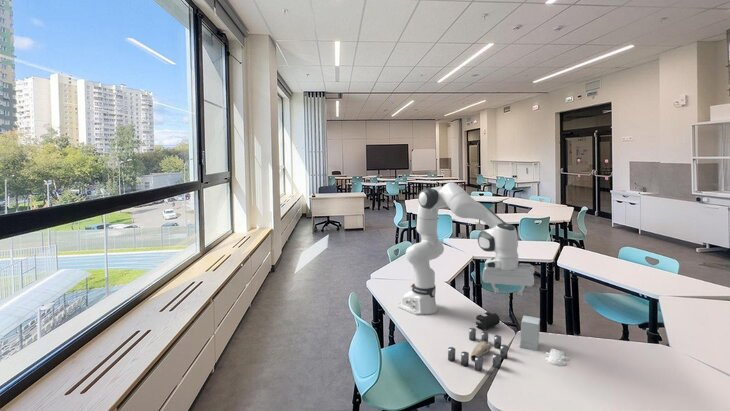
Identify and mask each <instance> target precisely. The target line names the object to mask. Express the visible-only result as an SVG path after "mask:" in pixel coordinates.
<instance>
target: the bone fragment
mask: <svg viewBox="0 0 730 411" xmlns="http://www.w3.org/2000/svg"><path fill="white" fill-rule="evenodd" d="M491 349H492V345H491V344H490V343H489V342H488V343H487V342H485V341H483V342H481V341H480V342H478V343H477V344H476V345H475V346H474V348H473V350H472V352H471V354H470V359H471V361H474V358H475V357H476V356H480V357H482V356H483V355H485V354H487V353H488V352H489V351H490V350H491Z"/></svg>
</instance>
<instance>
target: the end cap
mask: <svg viewBox="0 0 730 411" xmlns="http://www.w3.org/2000/svg"><path fill="white" fill-rule="evenodd" d="M483 314H484V315H483ZM483 314H478V315H476V316H475V320H477V321H475V325H476V326H475V328H477V329H479V330H481V331H482V332H483V331H486V330H488V329H491V328H493V327H496V326H498V325H499V324H500V322H501V319H500V316H499V315H498V314H497V313H495V312H494V313H491V312H490V311H489V312H488V311H486V312H484V313H483ZM478 321H479V322H478Z"/></svg>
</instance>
